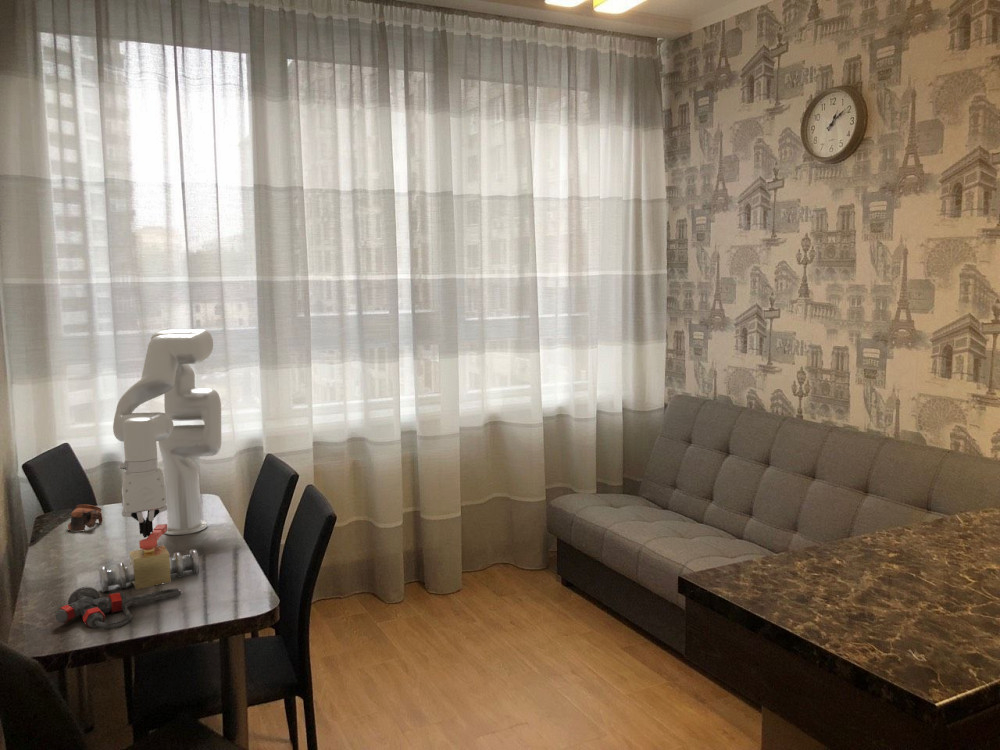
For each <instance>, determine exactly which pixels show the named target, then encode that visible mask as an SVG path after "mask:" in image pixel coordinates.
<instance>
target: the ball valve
mask: <svg viewBox="0 0 1000 750" xmlns="http://www.w3.org/2000/svg"><path fill="white" fill-rule="evenodd" d="M199 557H200V556H199V553H198V550H197V549H196V548H195V549H190V550H189V553H188V554H185V555H184V554H183V555H182V554H181V552H179V551H178V552H174V553H173V555H172V557H170V552H169V551H168V549H167V548H166V547H165V545H160V546H158V545H157V547H154V548H151V549H137V550H132V551H131V550H130V551H129V563H130V564H129V565H126V566H125V563H124V562H120V563H119V562H118V563H117V564H116V567H115V568H109V569H107V567H106V565H101V566H99V568H98V569H99V570H98V572H99V583H100V590H101V592H102V593H105V592H109V587H113V586H119V589H124V588H127V584H128V583H132V585H133V587H134V589H135V590H136V589H137V590H141V589H146V588H150V586H151V587H155V586H154V585H156V586H159V585H158V584H161V585H163V584H162V583H166V584H170V583H169V582H171V583H172V577H171V575H174V574H175V577H176V576H177V577H176V578H179V577H183V575H184V572H189V571H191V573H192V574H193V575H194V574H198V573H200V567H201V566H200V559H199Z"/></svg>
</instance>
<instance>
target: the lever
mask: <svg viewBox="0 0 1000 750" xmlns="http://www.w3.org/2000/svg"><path fill="white" fill-rule="evenodd" d="M167 524H168V523H165V524H161V523H160V524H156V526H155V527H154V528H153V532H151V534H150V535H149V536H147V537H146V538H144V539H141V540H139V543H138V544H139V550H142V549H151V548H154V547H158V540H160V538H161V537H162V536H163V535H166V534H165V532H166V531H167V530H168V529H167Z"/></svg>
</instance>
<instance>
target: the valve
mask: <svg viewBox="0 0 1000 750" xmlns="http://www.w3.org/2000/svg"><path fill="white" fill-rule="evenodd" d="M181 595H182V591H181V590H180V589H179V587H174V588H169V589H163V590H159V591H153V592H148V593H143V594H138V595H134V596H129V597H127V595H126V594H125V593H120V592H115V593H110V594H108V595H107V596H105V597H104V596H103V597H101V596H100V593H99V591H98V590H97V589H96V588H94V587H92V586H82V587H79V588H78V589H75V590H74V591H73V592H72V593H71V594H70V595H69V597H68V600H67V604H66V605H63V606H62V607H60V608H58V610H56V612H55V615H54V616H55V619H56V621H57V622H58V623H60V624H64V625H65V624H66V623H69V622H70V621H72V620H73V619H75V618H77V617H79V616H81V617H82V619H81V620H82V621H83V622H84V624H85V625H86V626H87V627H88V628H93V629H94V628H96V629H97V628H99V627H100V628H104V629H111V628H119V627H122V626H123V625H124V626H125V625H126V624H127V623H129V622H130V621H131V620H132V613H131V612H130V609H129V608H128V607H131V606H134V605H137V604H138V605H139V604H143V603H147V602H152V601H158V600H162V599H169V598H172V597H177V596H181ZM121 611H123V612H124V614H125V616H126V617H125V618H124V619H123V620H119V621H116V622H104V621H105V619H106V615H105V614H107V613H110V614H112V613H117V612H118V613H119V612H121Z"/></svg>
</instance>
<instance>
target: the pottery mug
mask: <svg viewBox="0 0 1000 750" xmlns="http://www.w3.org/2000/svg"><path fill="white" fill-rule="evenodd" d="M102 510H103V509H102V508H101V507H99V506H97V505H92V504H77V505H75V508H74V509H73V510H72V512H71V513H70V522H69V523H68V525H67V526H68V527H67V528H68V529H69V530H71V531H75V532H80V531H79V530H84V531H85V528H86V527H87V528H89V529H91V528H94V527H95V526H96V522H97V521H98V523H101V524H102V523H103V515H102Z"/></svg>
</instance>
